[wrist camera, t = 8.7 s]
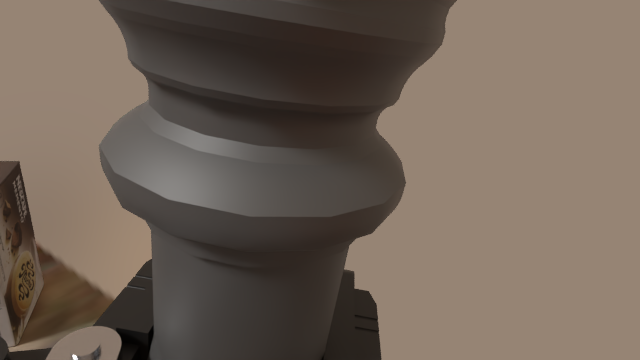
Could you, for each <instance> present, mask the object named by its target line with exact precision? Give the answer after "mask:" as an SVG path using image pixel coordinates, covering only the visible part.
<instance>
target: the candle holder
mask: <svg viewBox="0 0 640 360" xmlns="http://www.w3.org/2000/svg"><path fill="white" fill-rule="evenodd" d="M99 1H100V2H101V4H102V5H103V6H104V7H105V9H106V10H107V11H108V13H109V14H110V15H111V16H112V17H113V19H114V20H115V22H116V23H117V24H118V26H119V28H120V30H121V32H122V34H123V37H124V39H125V42H126V46H127V51H128V58H129V60H130V61H131V63H132V65H133V66H134V67H135V68H136V69H138V70H139V71H140V72H141V73H143V74H144V76H145V77H146V79H147V82H148V87H149V100H147V101H146V102H145V103H143V104H141V105H139V106H137V107H136V108H134V109H132V110H131V111H130V112H128V113H127V114H125V115H124V116H123V117H122V118H120V119H119V120H118V121H117V122H116V123H115V124H114V125H113V126H112V128H111V129H110V131H109V132H108V133H107V135H106V136H105V138H104V139H103V140H102V142H101V143H100V145H99V150H100V159H101V165H102V168H103V171H104V173H105V175H106V177H107V179H108V181H109V183H110V185H111V187H112V189H113V191H114V193H115V194H116V196H117V198H118V200H119V202H120V204H121V206H122V207H123V208H124V209H126V210H128V211H129V212H131V213H133V214H135V215H137V216H138V217H140V218H142V219H144V220H146V222H147V224H148V226H149V227H150V229H151V238H152V240H151V241H152V278H153V316H154V334H153V338H152V342H151V346H150V350H149V354H148V358H147V360H323V357H324V353H325V350H326V344H327V339H328V335H329V331H330V326H331V322H332V318H333V313H334V309H335V305H336V300H337V296H338V292H339V287H340V283H341V279H342V275H343V270H344V266H345V261H346V257H347V253H348V249H349V245H350V244H351V243H352V242H353V241H354V240H355V239H356V238H359V237H362V236H365V235H368V234H371V233H373V232H374V231H375V229H376V228H377V227H378V226H379V225H380V224H381V223H382V222H383V221H384V220H385V219H386V218H387V217H388V216H389V215H390V213H392V211H393V210H394V209H395V208H396V206H397V205H398V203H399V202H400V199H401V197H402V194H403V191H404V187H405V184H406V182H405V177H404V172H403V167H402V162H401V160H400V159H399V157H398V156H397V154H396V152H395V151H394V150H393V148H392V147H391V146H390V145H389V144H388V142H387V141H385V139H384V138H383V137H382V136H381V135H380V134H379V133H378V131H377V129H376V124H377V119H378V117H379V115H380V113H381V112H382V111H383V110H384V109H385V108H387V107H389V106H392V105H394V104H395V103H396V101H397V100H398V99H399V97H400V94H401V91H402V89H403V87H404V84H405V83H406V81H407V80H408V78H409V77H410V76H411V75H412V73H413V72H414V71H415V70H416V69H417V68H418V67H420V66H421V65H422V64H424V63H425V62H426V61H427V60H428V59H429V58H430V57H432V55H433V54H434V53H435V52H436V51H437V49H438V48H439V47H440V46H441V45H442V42H443V38H444V35H445V21H446V16H447V14H448V11H449V9H450V7H451V6H452V5H453V4H454V3H455V2H456V1H457V0H99Z"/></svg>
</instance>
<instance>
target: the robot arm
mask: <svg viewBox="0 0 640 360" xmlns="http://www.w3.org/2000/svg"><path fill="white" fill-rule="evenodd" d="M377 321H378V316H377V305H376V303H375V301H374V300H373V298H372V296H371V294H370V293H369V291H364V290H359V289H354V271H350V270H343V275H342V279H341V283H340V287H339V292H338V296H337V300H336V305H335V309H334V313H333V318H332V322H331V326H330V331H329V335H328V339H327V344H326V350H325V353H324V357H323V360H381V352H380V351H381V350H380V340H379V334H378V333H379V328H378V322H377ZM153 334H154V316H153V278H152V259H151V260H149V261H148V262H146V263H145V264H144V265H143V267H142V268H141V269H140V270H139V271H138V272H137V274H136V276H135V277H133V279H132V280H131V281H130V282H129V283H128V285H127V287H125V288H124V289H123V290H122V292H121V293H120V294H119V295H118V296H117V298H116V299H115V300H114V301H113V302H112V304H111V305H110V306H109V307H108V308H107V310H106V311H105V312H104V313H103V314H102V316H101V317H100V318H99V319H98V320H97V322H96V323H95V324H94V325H93V326H91V327H86V328H82V329H79V330H77V331H74V332H72V333H70V334H68V335H67V336H65V337H64V338H62V339H61V340H60V341H58V342H57V343H56V344H55V346H54V347H53V348H47V349H38V350H27V351H16V352H9V349H8V345H7V343H6V341H5V340H4V339H3V338H2V337H0V360H147V358H148V354H149V350H150V346H151V342H152V338H153Z"/></svg>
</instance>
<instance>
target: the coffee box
mask: <svg viewBox="0 0 640 360" xmlns="http://www.w3.org/2000/svg"><path fill="white" fill-rule="evenodd" d="M43 286H44V281H43V276H42V272H41V267H40V262H39V257H38V252H37V247H36V242H35V237H34V231H33V226H32V222H31V216H30V212H29V207H28V202H27V197H26V192H25V187H24V182H23V177H22V173H21V169H20V162H19V161H0V337H2V338H3V339H4V340H5V341H6V343H7V345H8V347H12V346H16V345H17V344H18V343H19V341H20V339H21V336H22V334H23V332H24V329H25V327H26V325H27V322H28V320H29V318H30V315H31V313H32V311H33V308H34V306H35V304H36V302H37V299H38V297H39V295H40V292H41V290H42V288H43Z"/></svg>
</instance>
